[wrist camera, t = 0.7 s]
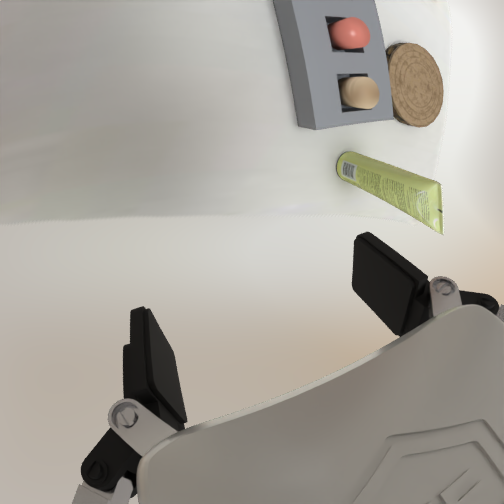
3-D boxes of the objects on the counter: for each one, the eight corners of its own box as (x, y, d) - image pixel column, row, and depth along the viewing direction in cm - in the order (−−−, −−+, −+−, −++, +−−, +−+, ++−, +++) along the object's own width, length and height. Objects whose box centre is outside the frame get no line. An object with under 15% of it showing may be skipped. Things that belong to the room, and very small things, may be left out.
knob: (332, 77, 32) (351, 77, 28) (357, 76, 32) (377, 76, 29) (336, 107, 34) (356, 110, 30) (360, 105, 35) (380, 108, 31)
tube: (366, 158, 43) (460, 199, 27) (355, 185, 45) (444, 236, 29) (342, 146, 41) (441, 183, 24) (330, 175, 42) (423, 225, 26)
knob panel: (263, -33, 23) (277, -47, 19) (345, -25, 25) (364, -34, 21) (298, 126, 37) (316, 130, 33) (372, 115, 39) (393, 119, 35)
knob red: (321, 22, 27) (339, 15, 23) (347, 23, 28) (366, 18, 24) (327, 50, 29) (346, 46, 26) (352, 50, 30) (372, 48, 27)
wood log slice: (376, 122, 41) (388, 124, 38) (373, 35, 32) (385, 33, 30) (431, 127, 44) (442, 130, 42) (430, 54, 36) (441, 54, 34)
